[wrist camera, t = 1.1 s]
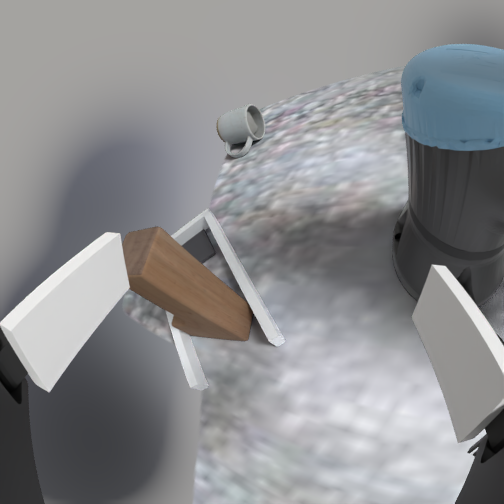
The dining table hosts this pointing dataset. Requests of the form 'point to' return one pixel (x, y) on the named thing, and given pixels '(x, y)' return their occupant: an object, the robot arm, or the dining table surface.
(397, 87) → the dining table surface
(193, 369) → the channel
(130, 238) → the wooden block
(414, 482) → the dining table surface
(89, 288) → the robot arm
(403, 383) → the dining table surface
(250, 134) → the ceramic mug
